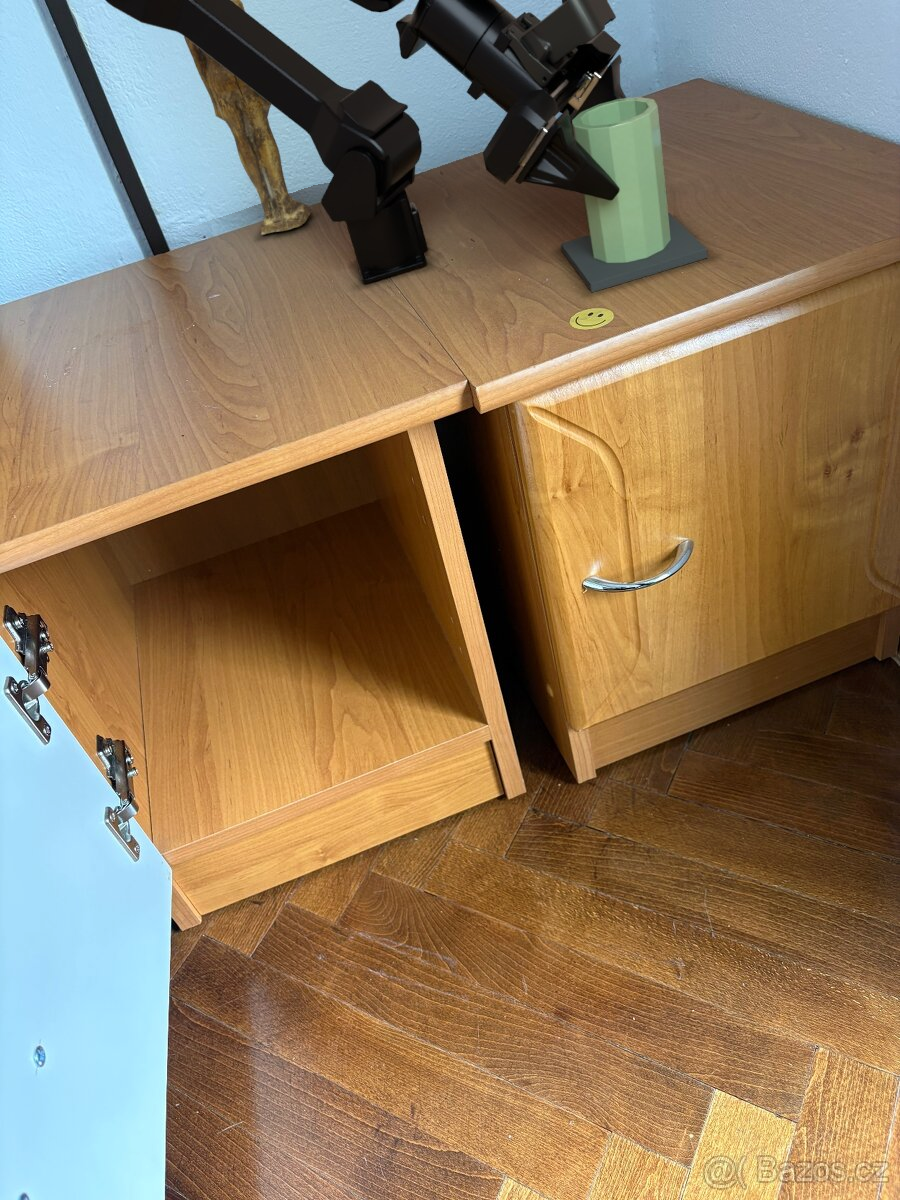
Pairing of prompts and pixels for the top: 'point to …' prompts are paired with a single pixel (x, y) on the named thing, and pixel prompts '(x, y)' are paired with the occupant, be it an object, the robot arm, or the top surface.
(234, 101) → the sculpture
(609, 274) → the mat
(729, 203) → the top surface
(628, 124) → the green faceted tube
